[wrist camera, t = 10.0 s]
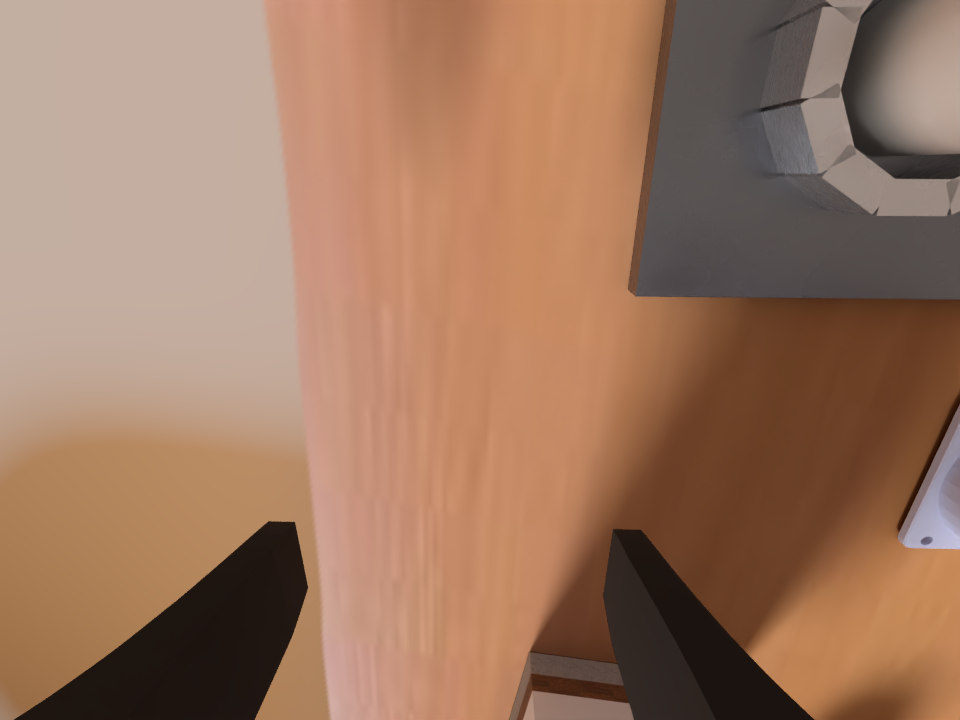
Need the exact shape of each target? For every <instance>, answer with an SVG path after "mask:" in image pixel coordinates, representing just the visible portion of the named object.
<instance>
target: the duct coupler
mask: <svg viewBox="0 0 960 720" xmlns="http://www.w3.org/2000/svg"><path fill="white" fill-rule="evenodd" d="M841 93H842V97H843V101H844V105H845V110H846V114H847V118H848V122H849V126H850V131H851V135H852V139H853V143H854V147H855V148H856V149H857V150H858V151H860V152H861V153H863V154H865V155H871V156H911V155H940V154H960V0H881V1H880V2H879V3H877V4H876V5H875V6H874V7H873V8H872V9H871V10H869V11H868V12H867V13H866V14H865V15H864V16H863V18H862V19H861V20H860V21H859V24H858V28H857V32H856V36H855V39H854V43H853V47H852V50H851V54H850V58H849V61H848V65H847V69H846V72H845V76H844V80H843V83H842V87H841Z"/></svg>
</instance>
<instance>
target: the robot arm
mask: <svg viewBox="0 0 960 720" xmlns="http://www.w3.org/2000/svg"><path fill="white" fill-rule="evenodd" d="M898 540H899V541H900V542H901V543H902V544H903V545H904V546H906V547H908V548H935V549H960V404H959V407H958V409H957V411H956V413H955V415H954V417H953V419H952V421H951V424H950V426H949V428H948V430H947V432H946V434H945V436H944V438H943V441H942V443H941V445H940V447H939V449H938V451H937V453H936V455H935V458H934V460H933V462H932V464H931V466H930V468H929V470H928V472H927V475H926V477H925V479H924V481H923V483H922V485H921V487H920V489H919V492H918V494H917V496H916V498H915V500H914V502H913V504H912V506H911V509H910V511H909V513H908V515H907V517H906V519H905V521H904V524H903V526H902V528H901V530H900V532H899V534H898ZM307 589H308V585H307V580H306V575H305V571H304V565H303V560H302V555H301V550H300V545H299V541H298V535H297V530H296V525H295V522H271V521H269V522H267V523H266V524H265V525H264V526H263V527H261V529H259V530H258V531H257V532H256V533H254V535H252V536H251V537H250V538H249V539H248V540H246V541H245V542H244V543H243V544H242V545H241V546H240V547H239V548H238V549H236V550H235V551H234V552H233V553H232V554H231V555H229V556H228V557H227V558H226V559H225V560H224V561H223V562H222V563H220V564H219V565H218V566H217V567H216V568H215V569H213V570H212V571H211V572H210V573H209V574H208V575H206V576H205V577H204V578H203V579H202V580H201V581H200V582H198V583H197V584H196V585H195V586H194V587H192V588H191V589H190V590H189V591H188V592H187V593H185V594H184V595H183V596H182V597H181V598H179V599H178V600H177V601H176V602H174V604H172V605H171V606H170V607H168V608H167V609H166V610H164V611H163V612H162V613H161V614H159V615H158V616H157V617H156V618H154V619H153V620H152V621H151V622H149V623H148V624H147V625H146V626H145V627H143V628H142V629H141V630H139V631H138V632H137V633H136V634H134V635H133V636H132V637H131V638H130V639H128V640H127V641H126V642H124V643H123V644H122V645H120V646H119V647H118V648H117V649H115V650H114V651H112V652H111V653H110V654H108V655H107V656H106V657H104V658H103V659H102V660H100V661H99V662H98V663H96V664H95V665H94V666H92V667H91V668H89V669H88V670H86V671H85V672H84V673H82V674H81V675H79V676H78V677H77V678H75V679H74V680H72V681H71V682H70V683H68V684H67V685H65V686H64V687H62V688H61V689H60V690H58V691H57V692H55V693H54V694H52V695H51V696H50V697H48V698H46V699H45V700H44V701H42V702H41V703H39V704H38V705H36V706H34V707H33V708H31V709H30V710H28V711H27V712H25V713H24V714H22V715H21V716H19V717H17V718H16V719H14V720H255V718H256V715H257V713H258V711H259V709H260V707H261V704H262V702H263V700H264V698H265V696H266V693H267V691H268V689H269V687H270V685H271V682H272V680H273V678H274V676H275V674H276V671H277V669H278V667H279V665H280V663H281V660H282V658H283V656H284V654H285V651H286V649H287V647H288V645H289V642H290V640H291V638H292V635H293V632H294V629H295V627H296V623H297V621H298V617H299V615H300V612H301V608H302V605H303V602H304V599H305V596H306V592H307ZM603 597H604V603H605V609H606V614H607V620H608V626H609V631H610V636H611V641H612V646H613V649H614V653H615V657H616V660H617V664H618V667H619V670H620V674H621V677H622V681H623V684H624V688H625V691H626V695H627V698H628V701H629V705H630V708H631V712H632V715H633V718H634V720H814V719H813V718H812V717H811V716H810V715H809V714H808V713H807V712H806V711H805V710H803V709H802V708H801V707H800V706H799V705H798V704H797V703H796V702H795V701H794V700H793V699H792V698H791V697H790V696H789V695H788V694H787V693H786V692H785V691H783V690H782V689H781V688H780V687H779V686H778V685H777V684H776V683H775V682H774V681H773V680H772V679H771V678H770V677H769V676H768V675H767V674H766V673H765V672H764V671H763V670H762V669H761V668H760V666H759V665H758V664H757V663H756V662H755V661H754V660H753V659H752V658H751V657H750V656H749V655H748V654H747V653H746V652H745V651H744V650H743V649H742V648H741V647H740V646H739V644H738V643H737V642H736V641H735V640H734V639H733V638H732V637H731V636H730V635H729V634H728V633H727V631H726V630H725V629H724V628H723V627H722V626H721V625H720V624H719V623H718V622H717V620H716V619H715V618H714V617H713V616H712V615H711V614H710V612H709V611H708V610H707V609H706V608H705V607H704V606H703V604H702V603H701V602H700V601H699V600H698V599H697V598H696V596H695V595H694V594H693V593H692V592H691V591H690V589H689V588H688V587H687V586H686V585H685V583H684V582H683V581H682V580H681V579H680V577H679V576H678V575H677V574H676V572H675V571H674V570H673V569H672V568H671V566H670V565H669V564H668V563H667V561H666V560H665V559H664V558H663V556H662V555H661V554H660V553H659V551H658V550H657V549H656V548H655V546H654V545H653V544H652V543H651V541H650V540H649V539H648V538H647V536H646V535H645V534H644V533H643V532H642V531H641V530H622V529H613V534H612V540H611V547H610V554H609V560H608V567H607V573H606V580H605V587H604V593H603Z"/></svg>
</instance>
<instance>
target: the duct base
mask: <svg viewBox="0 0 960 720" xmlns="http://www.w3.org/2000/svg"><path fill="white" fill-rule="evenodd" d="M880 1H881V0H666V7H665V15H664V22H663V30H662V37H661V45H660V52H659V60H658V67H657V75H656V82H655V90H654V98H653V105H652V113H651V120H650V128H649V135H648V143H647V150H646V158H645V165H644V173H643V181H642V188H641V196H640V203H639V211H638V218H637V226H636V233H635V241H634V249H633V256H632V264H631V271H630V279H629V286H628V290H629V291H630V292H631V293H632V294H634V295H635V296H651V297H752V298H853V299H954V300H960V154H940V155H911V156H871V155H865V154H863V153H861V152H860V151H858V150H857V149H856V148H855V147H854V143H853V139H852V135H851V131H850V126H849V122H848V118H847V114H846V110H845V105H844V101H843V97H842V93H841V87H842V83H843V80H844V76H845V72H846V69H847V65H848V61H849V58H850V54H851V50H852V47H853V43H854V39H855V36H856V32H857V28H858V24H859V21H860V20H861V19H862V18H863V16H864V15H865V14H866V13H867V12H868V11H869V10H871V9H872V8H873V7H874V6H875V5H876V4H877V3H879V2H880Z"/></svg>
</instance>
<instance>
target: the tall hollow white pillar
mask: <svg viewBox="0 0 960 720" xmlns="http://www.w3.org/2000/svg"><path fill="white" fill-rule="evenodd" d="M509 720H634V718H633V715H632V712H631V708H630V705H629V701H628V698H627V695H626V691H625V688H624V684H623V681H622V677H621V674H620V670H619V667H618V664H614V663H606V662H599V661H592V660H584V659H577V658H569V657H562V656H554V655H547V654H540V653H532V652H529V656H528V659H527V662H526V666H525V669H524V672H523V675H522V679H521V682H520V685H519V689H518V692H517V695H516V699H515V702H514V705H513V708H512V712H511V715H510V718H509Z"/></svg>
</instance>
